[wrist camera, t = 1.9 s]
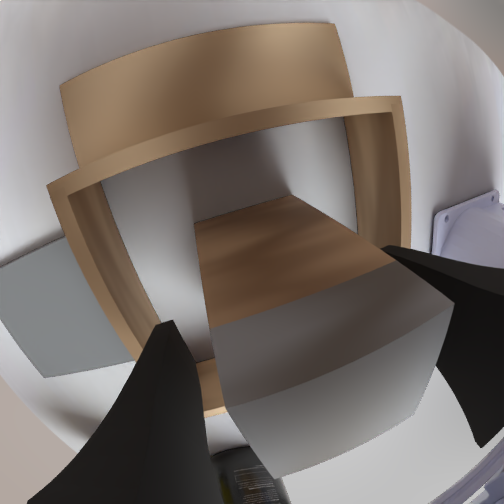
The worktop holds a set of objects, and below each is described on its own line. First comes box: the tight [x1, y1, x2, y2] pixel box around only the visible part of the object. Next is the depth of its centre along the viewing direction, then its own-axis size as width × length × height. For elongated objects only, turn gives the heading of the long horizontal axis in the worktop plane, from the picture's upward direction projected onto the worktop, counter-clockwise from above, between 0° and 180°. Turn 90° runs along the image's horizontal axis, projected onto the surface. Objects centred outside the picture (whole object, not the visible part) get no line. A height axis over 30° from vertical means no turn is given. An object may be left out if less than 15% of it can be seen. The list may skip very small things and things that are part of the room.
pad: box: [0, 236, 135, 378], centre depth 11 cm, size 8×8×1 cm
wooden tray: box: [46, 23, 411, 418], centre depth 11 cm, size 12×20×4 cm, turn 13°
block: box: [194, 195, 455, 479], centre depth 9 cm, size 4×4×9 cm
